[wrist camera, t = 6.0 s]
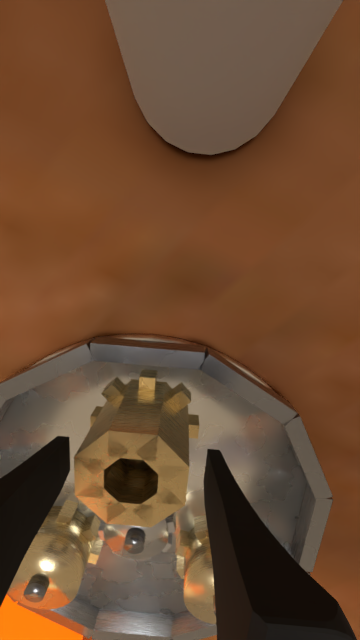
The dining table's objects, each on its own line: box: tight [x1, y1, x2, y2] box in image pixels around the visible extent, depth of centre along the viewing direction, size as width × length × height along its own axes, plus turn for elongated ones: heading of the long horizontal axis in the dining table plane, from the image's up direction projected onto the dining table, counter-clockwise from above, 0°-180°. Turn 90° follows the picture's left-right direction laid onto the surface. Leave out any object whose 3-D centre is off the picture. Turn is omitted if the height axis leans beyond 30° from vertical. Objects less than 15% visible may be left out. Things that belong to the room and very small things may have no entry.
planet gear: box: [74, 369, 199, 527], centre depth 13 cm, size 6×6×5 cm
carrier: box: [0, 334, 333, 640], centre depth 15 cm, size 24×24×4 cm
